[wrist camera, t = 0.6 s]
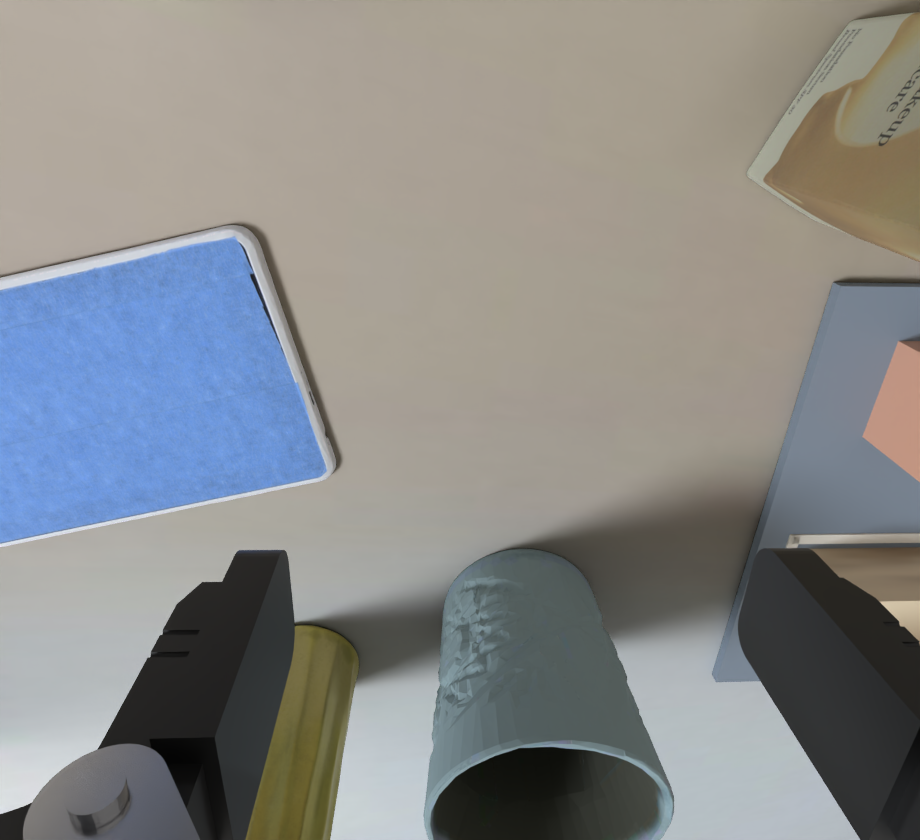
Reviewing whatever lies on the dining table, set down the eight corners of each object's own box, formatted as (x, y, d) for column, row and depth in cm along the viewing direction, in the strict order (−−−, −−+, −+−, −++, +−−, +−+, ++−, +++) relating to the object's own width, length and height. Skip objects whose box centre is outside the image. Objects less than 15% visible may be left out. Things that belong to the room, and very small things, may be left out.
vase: (260, 615, 35) (167, 910, 22) (368, 630, 36) (336, 921, 23) (250, 688, 38) (163, 987, 25) (351, 700, 39) (314, 995, 26)
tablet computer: (254, 216, 25) (246, 223, 24) (343, 469, 31) (340, 483, 30) (-180, 315, 27) (-208, 326, 25) (-15, 541, 32) (-31, 558, 31)
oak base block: (802, 548, 34) (846, 602, 30) (925, 547, 34) (983, 599, 31) (769, 640, 37) (805, 698, 34) (882, 638, 37) (929, 695, 34)
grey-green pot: (617, 640, 37) (693, 858, 27) (459, 685, 39) (471, 910, 28) (576, 513, 33) (648, 715, 22) (397, 568, 34) (384, 785, 23)
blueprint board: (833, 282, 27) (842, 286, 27) (1089, 285, 28) (1104, 289, 27) (711, 674, 39) (716, 683, 38) (894, 669, 40) (902, 678, 39)
